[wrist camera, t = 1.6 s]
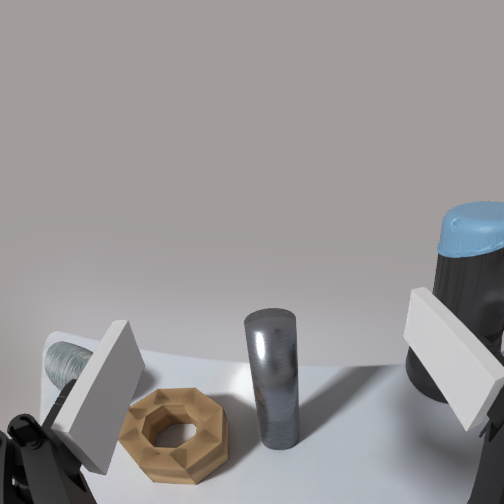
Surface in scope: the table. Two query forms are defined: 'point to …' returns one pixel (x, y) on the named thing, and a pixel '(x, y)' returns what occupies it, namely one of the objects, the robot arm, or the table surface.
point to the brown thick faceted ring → (188, 454)
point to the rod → (274, 375)
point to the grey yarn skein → (65, 362)
